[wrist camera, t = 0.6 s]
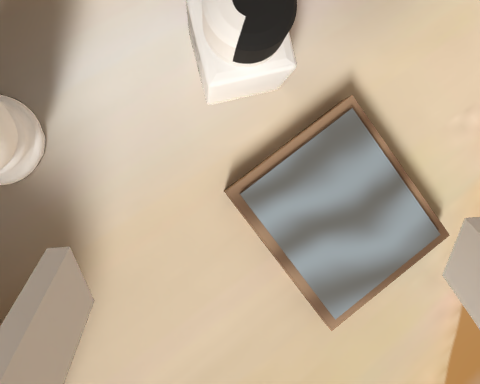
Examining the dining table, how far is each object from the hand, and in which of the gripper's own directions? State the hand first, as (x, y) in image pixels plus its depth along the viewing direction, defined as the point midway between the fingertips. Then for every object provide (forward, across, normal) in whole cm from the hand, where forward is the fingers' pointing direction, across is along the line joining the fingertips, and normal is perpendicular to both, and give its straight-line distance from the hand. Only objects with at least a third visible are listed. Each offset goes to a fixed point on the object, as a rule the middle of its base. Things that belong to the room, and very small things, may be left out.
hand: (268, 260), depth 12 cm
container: (+29, 0, 0) cm, 29 cm away
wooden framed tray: (+21, +9, -15) cm, 27 cm away
